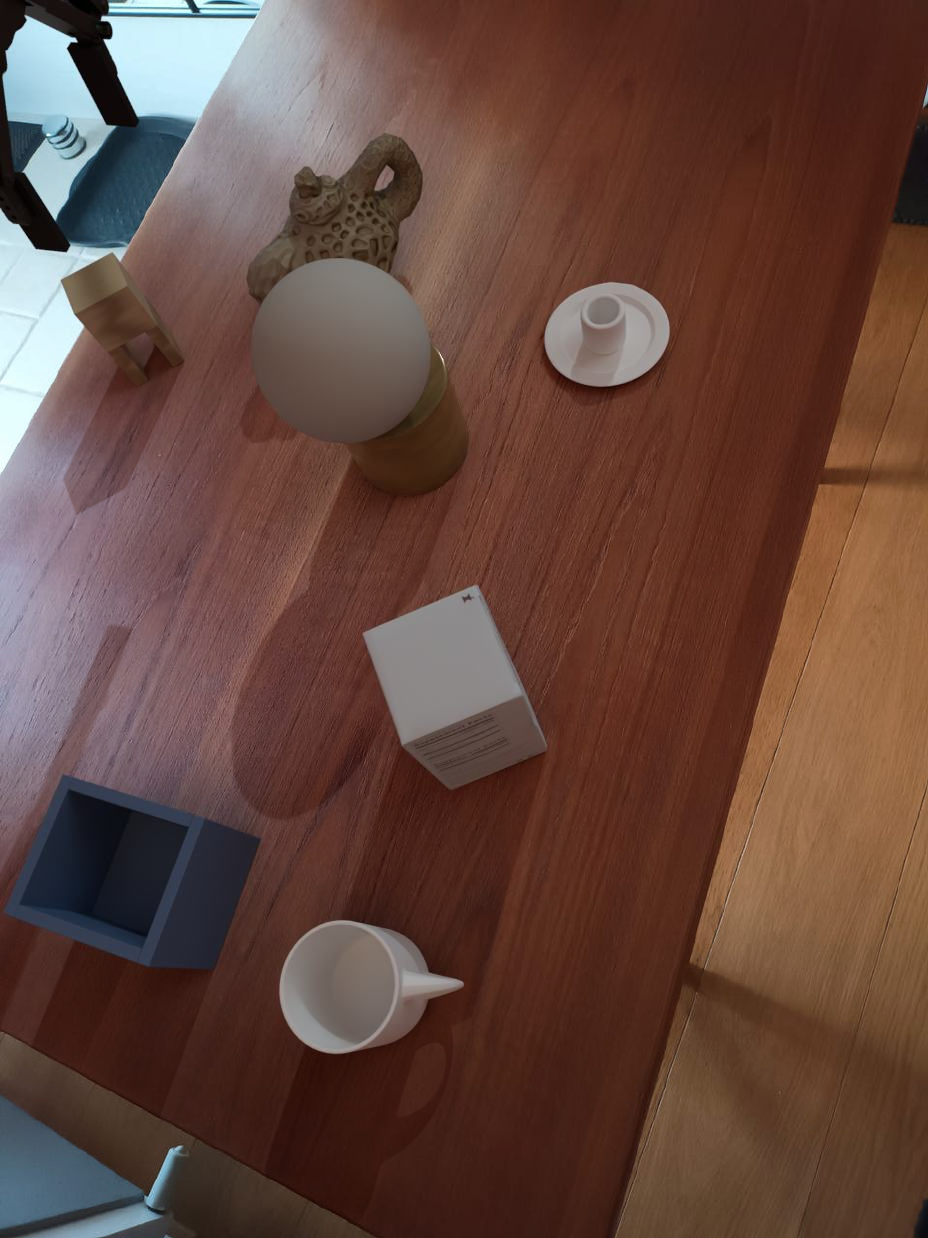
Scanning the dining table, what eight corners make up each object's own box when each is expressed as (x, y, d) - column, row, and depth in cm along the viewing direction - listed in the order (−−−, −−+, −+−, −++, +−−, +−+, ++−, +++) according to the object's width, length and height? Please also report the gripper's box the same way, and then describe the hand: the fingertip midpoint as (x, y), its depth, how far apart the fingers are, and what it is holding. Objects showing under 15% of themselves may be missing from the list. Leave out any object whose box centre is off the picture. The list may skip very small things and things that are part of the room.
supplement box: (412, 694, 84) (356, 627, 68) (509, 653, 83) (475, 577, 68) (449, 795, 80) (399, 748, 64) (551, 752, 79) (525, 695, 64)
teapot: (308, 374, 98) (251, 274, 85) (248, 312, 103) (185, 207, 89) (466, 248, 100) (435, 131, 86) (400, 193, 105) (361, 73, 91)
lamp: (418, 555, 88) (333, 405, 65) (301, 494, 93) (184, 334, 70) (503, 427, 92) (451, 241, 69) (386, 375, 96) (300, 184, 73)
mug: (475, 1046, 73) (446, 1056, 63) (324, 1044, 75) (274, 1053, 65) (475, 928, 76) (448, 919, 66) (330, 929, 78) (283, 920, 68)
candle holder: (620, 267, 96) (619, 236, 92) (695, 344, 91) (696, 314, 87) (522, 332, 95) (515, 304, 91) (591, 412, 90) (588, 386, 86)
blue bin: (83, 922, 82) (2, 913, 72) (133, 799, 85) (62, 773, 75) (214, 969, 78) (148, 967, 68) (261, 838, 82) (205, 818, 71)
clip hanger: (137, 386, 102) (74, 314, 91) (123, 354, 104) (60, 279, 93) (184, 361, 102) (127, 285, 91) (170, 329, 104) (112, 251, 93)
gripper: (-137, 20, 50) (65, 309, 69) (60, -239, 60) (189, 78, 79) (-251, 14, 52) (-23, 298, 71) (-42, -237, 61) (109, 73, 80)
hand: (89, 183), depth 75 cm, fingers open, 13 cm apart
